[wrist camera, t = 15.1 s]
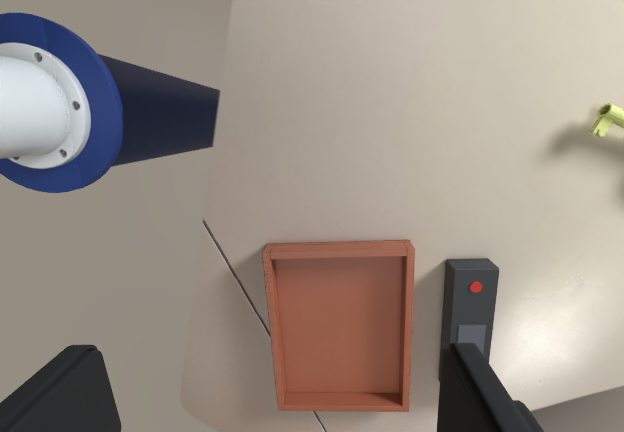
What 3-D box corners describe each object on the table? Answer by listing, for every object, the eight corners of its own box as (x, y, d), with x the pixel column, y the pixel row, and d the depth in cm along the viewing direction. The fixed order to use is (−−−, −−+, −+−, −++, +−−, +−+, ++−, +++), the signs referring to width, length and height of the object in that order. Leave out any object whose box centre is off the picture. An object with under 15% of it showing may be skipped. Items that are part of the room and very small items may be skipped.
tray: (281, 393, 42) (278, 410, 39) (266, 243, 36) (261, 252, 33) (404, 394, 40) (409, 411, 38) (409, 239, 35) (415, 248, 32)
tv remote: (438, 379, 40) (445, 397, 37) (446, 259, 35) (455, 270, 33) (475, 379, 39) (485, 398, 37) (487, 258, 35) (500, 269, 32)
